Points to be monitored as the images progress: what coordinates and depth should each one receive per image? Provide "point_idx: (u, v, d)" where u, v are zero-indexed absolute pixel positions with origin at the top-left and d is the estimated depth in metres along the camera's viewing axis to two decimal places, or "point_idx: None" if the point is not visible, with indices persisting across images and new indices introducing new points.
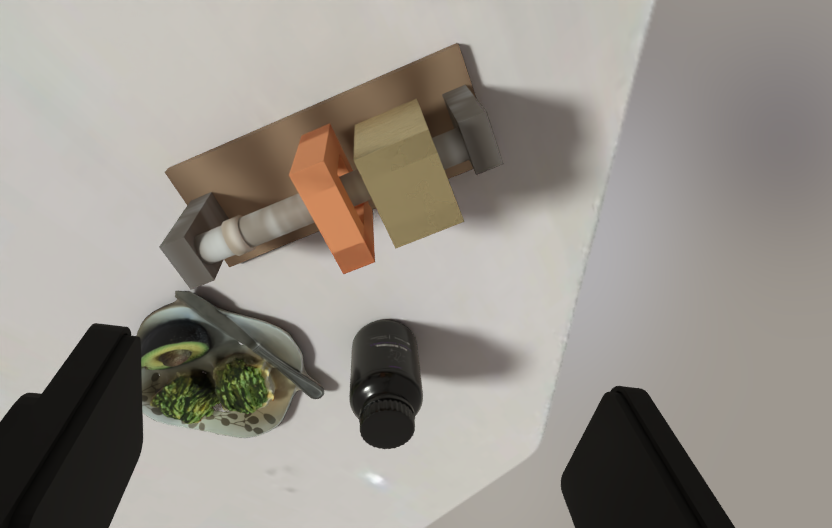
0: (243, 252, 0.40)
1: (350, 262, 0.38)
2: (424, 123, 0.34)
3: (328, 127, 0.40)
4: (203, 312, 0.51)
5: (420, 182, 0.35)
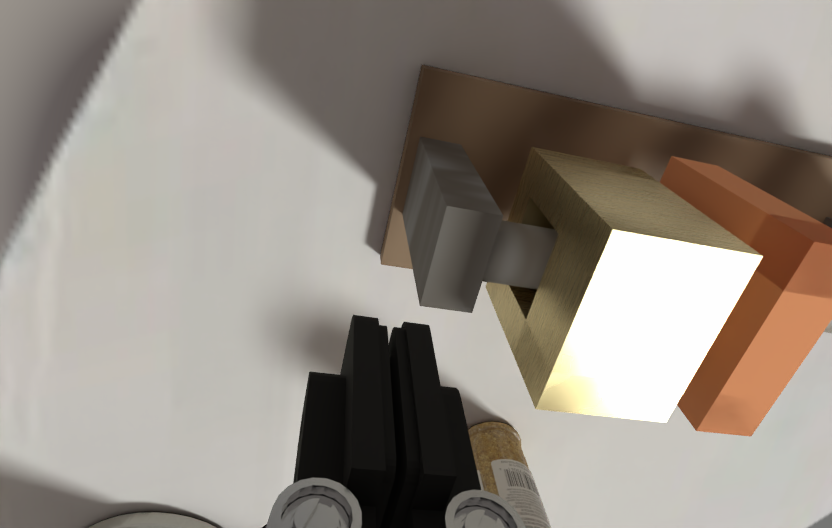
0: None
1: None
2: None
3: None
4: None
5: (615, 343, 0.17)
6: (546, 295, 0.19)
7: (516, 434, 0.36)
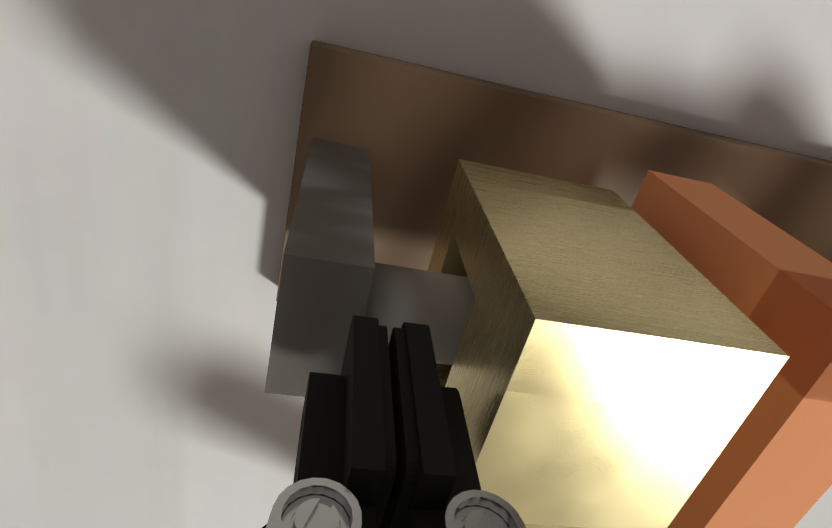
0: None
1: None
2: None
3: None
4: None
5: (551, 480, 0.11)
6: (457, 388, 0.12)
7: None
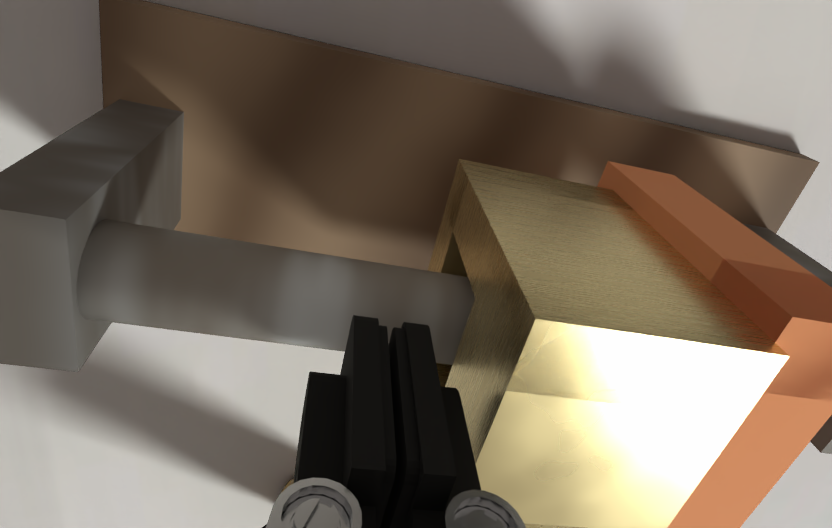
0: None
1: None
2: None
3: None
4: None
5: (551, 479, 0.11)
6: (457, 388, 0.12)
7: None
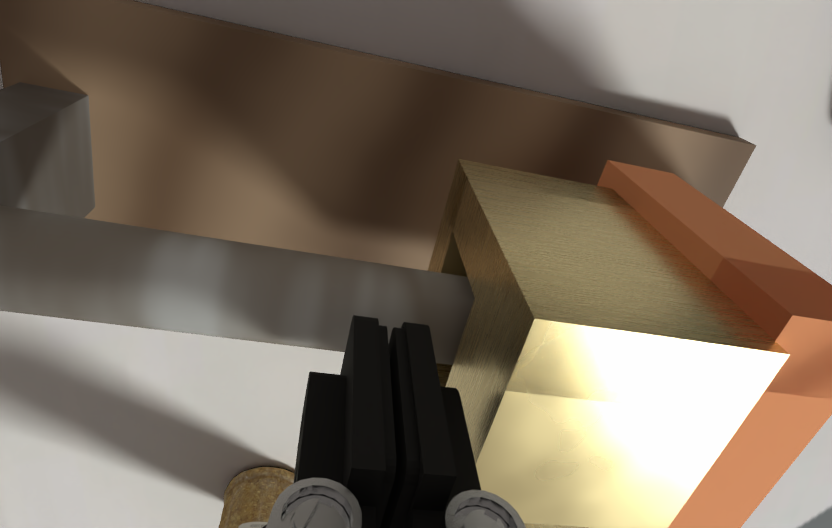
0: None
1: None
2: None
3: None
4: None
5: (552, 479, 0.11)
6: (457, 387, 0.12)
7: None
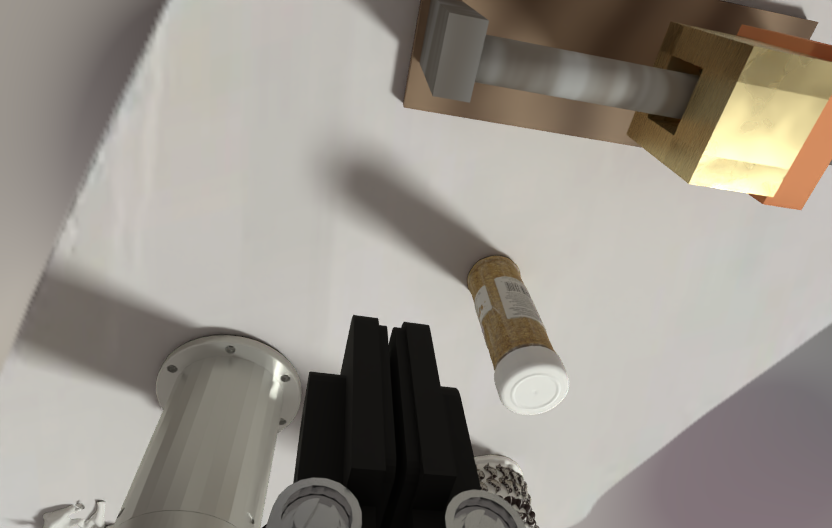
0: None
1: None
2: (676, 173, 0.29)
3: None
4: None
5: (746, 132, 0.27)
6: (694, 110, 0.28)
7: (516, 266, 0.44)
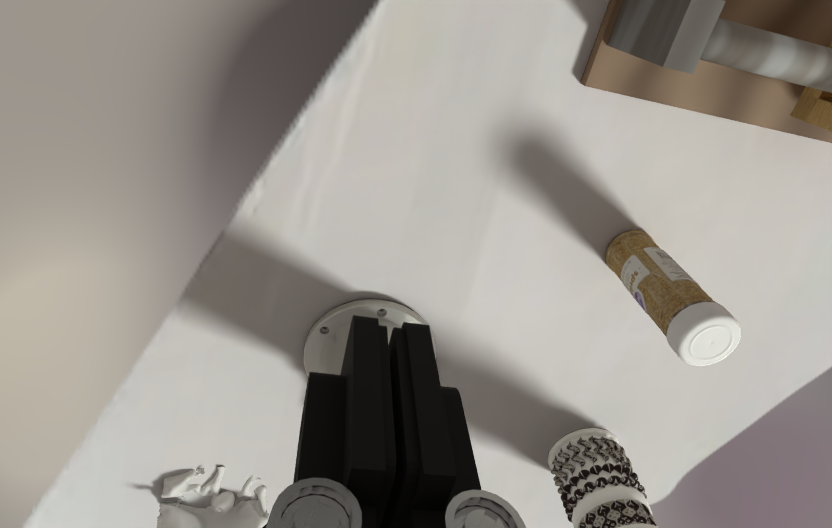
0: None
1: None
2: None
3: None
4: None
5: None
6: None
7: None
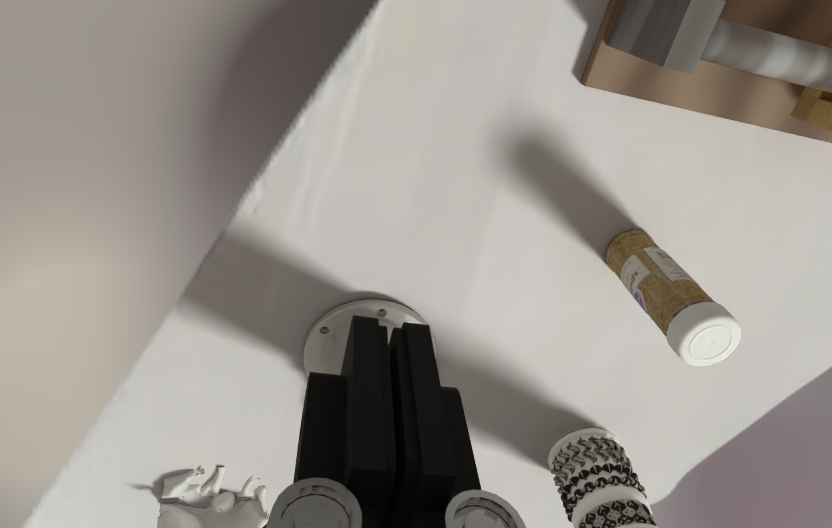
0: None
1: None
2: None
3: None
4: None
5: None
6: None
7: None
